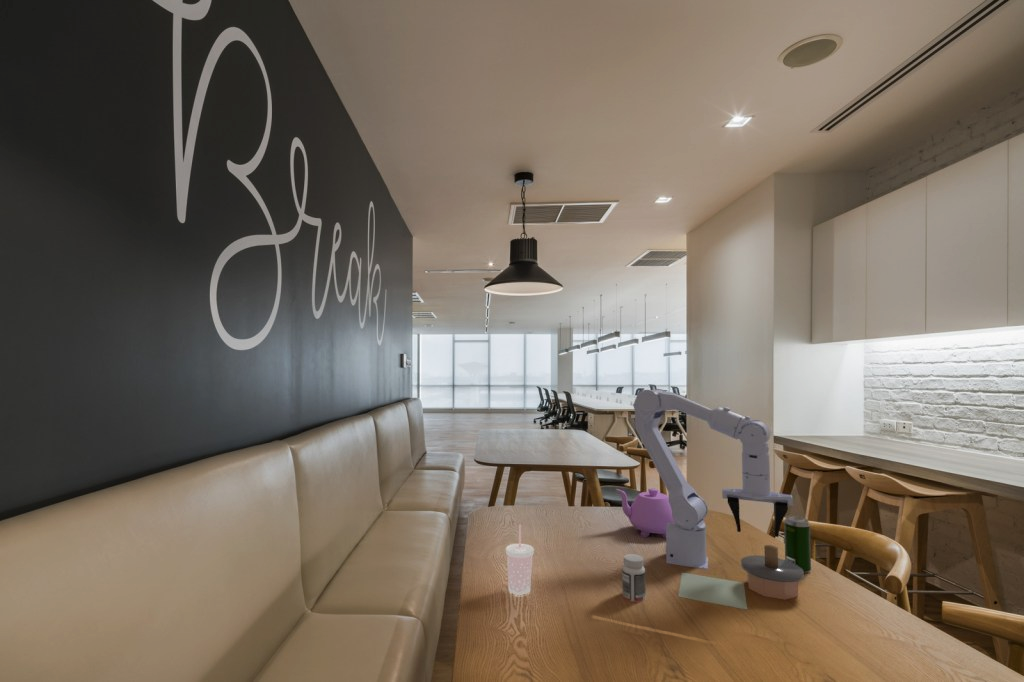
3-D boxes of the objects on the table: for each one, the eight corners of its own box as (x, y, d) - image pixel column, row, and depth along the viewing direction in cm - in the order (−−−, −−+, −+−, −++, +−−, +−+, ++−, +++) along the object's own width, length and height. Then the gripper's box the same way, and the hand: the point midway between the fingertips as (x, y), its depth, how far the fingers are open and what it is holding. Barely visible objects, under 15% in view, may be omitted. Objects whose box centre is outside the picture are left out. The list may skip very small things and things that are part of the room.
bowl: (749, 595, 101) (749, 574, 101) (746, 578, 110) (746, 558, 110) (800, 604, 97) (799, 582, 98) (793, 585, 106) (792, 565, 106)
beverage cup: (512, 582, 106) (513, 518, 107) (538, 588, 103) (538, 522, 104) (500, 594, 101) (500, 526, 102) (526, 600, 98) (527, 531, 99)
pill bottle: (646, 595, 101) (646, 554, 101) (644, 605, 96) (644, 563, 97) (623, 591, 102) (623, 551, 103) (621, 601, 98) (620, 559, 99)
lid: (740, 574, 101) (740, 551, 101) (741, 555, 112) (741, 534, 112) (806, 586, 96) (805, 562, 96) (801, 565, 106) (800, 543, 107)
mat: (678, 598, 99) (678, 596, 99) (682, 574, 111) (682, 572, 111) (747, 612, 94) (747, 609, 94) (743, 585, 106) (743, 582, 106)
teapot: (618, 538, 135) (618, 493, 136) (613, 522, 149) (613, 482, 150) (691, 542, 132) (691, 496, 133) (679, 526, 146) (679, 484, 147)
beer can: (804, 576, 111) (803, 524, 112) (780, 568, 115) (779, 518, 116) (815, 571, 114) (814, 520, 115) (792, 563, 118) (790, 514, 119)
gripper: (721, 473, 110) (722, 533, 109) (794, 480, 104) (795, 543, 103) (721, 468, 117) (723, 524, 116) (790, 473, 111) (791, 533, 110)
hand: (757, 533), depth 110 cm, fingers open, 7 cm apart
